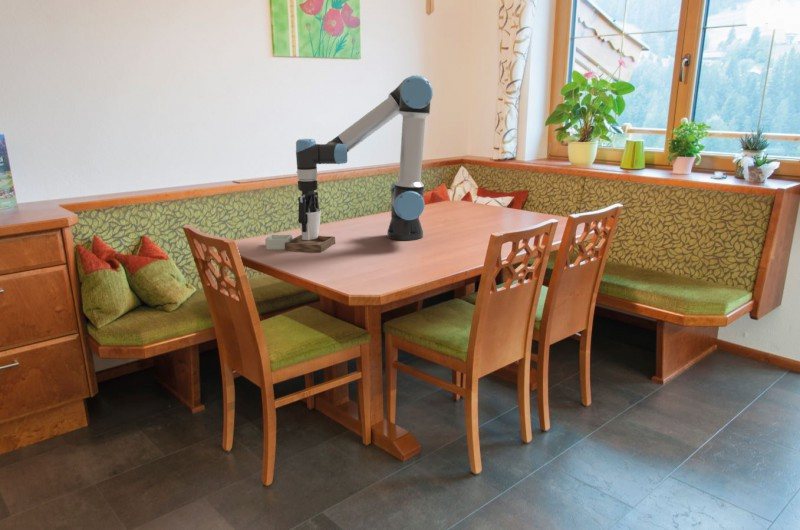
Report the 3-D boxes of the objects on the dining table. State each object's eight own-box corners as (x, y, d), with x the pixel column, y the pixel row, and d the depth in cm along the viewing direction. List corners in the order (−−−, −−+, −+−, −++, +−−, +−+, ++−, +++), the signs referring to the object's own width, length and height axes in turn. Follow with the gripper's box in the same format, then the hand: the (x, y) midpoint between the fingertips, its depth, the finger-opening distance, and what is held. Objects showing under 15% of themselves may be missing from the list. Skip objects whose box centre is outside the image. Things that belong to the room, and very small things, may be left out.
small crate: (293, 243, 245) (292, 234, 244) (289, 249, 236) (288, 239, 235) (270, 244, 245) (270, 234, 244) (266, 249, 236) (265, 239, 235)
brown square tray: (335, 243, 245) (334, 236, 245) (321, 252, 232) (320, 245, 231) (301, 241, 249) (300, 234, 249) (285, 250, 235) (284, 243, 235)
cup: (318, 241, 234) (316, 213, 231) (293, 240, 236) (292, 212, 233) (326, 235, 243) (325, 208, 240) (302, 234, 245) (301, 208, 242)
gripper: (309, 176, 244) (312, 231, 250) (286, 183, 225) (290, 242, 231) (326, 176, 242) (329, 232, 248) (305, 183, 223) (308, 243, 229)
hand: (310, 237), depth 239 cm, fingers closed on cup, 8 cm apart
